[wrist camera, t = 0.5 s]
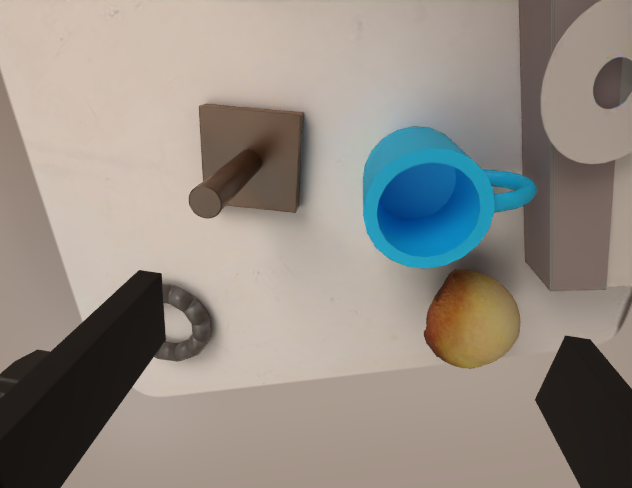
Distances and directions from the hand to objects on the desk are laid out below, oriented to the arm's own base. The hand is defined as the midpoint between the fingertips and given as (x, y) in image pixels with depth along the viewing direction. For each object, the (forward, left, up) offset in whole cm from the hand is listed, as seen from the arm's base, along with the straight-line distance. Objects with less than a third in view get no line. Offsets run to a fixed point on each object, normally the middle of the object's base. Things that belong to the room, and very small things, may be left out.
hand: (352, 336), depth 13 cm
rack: (0, -9, -22) cm, 24 cm away
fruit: (+11, +10, -22) cm, 26 cm away
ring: (+18, -18, -21) cm, 33 cm away
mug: (0, +6, -22) cm, 23 cm away
